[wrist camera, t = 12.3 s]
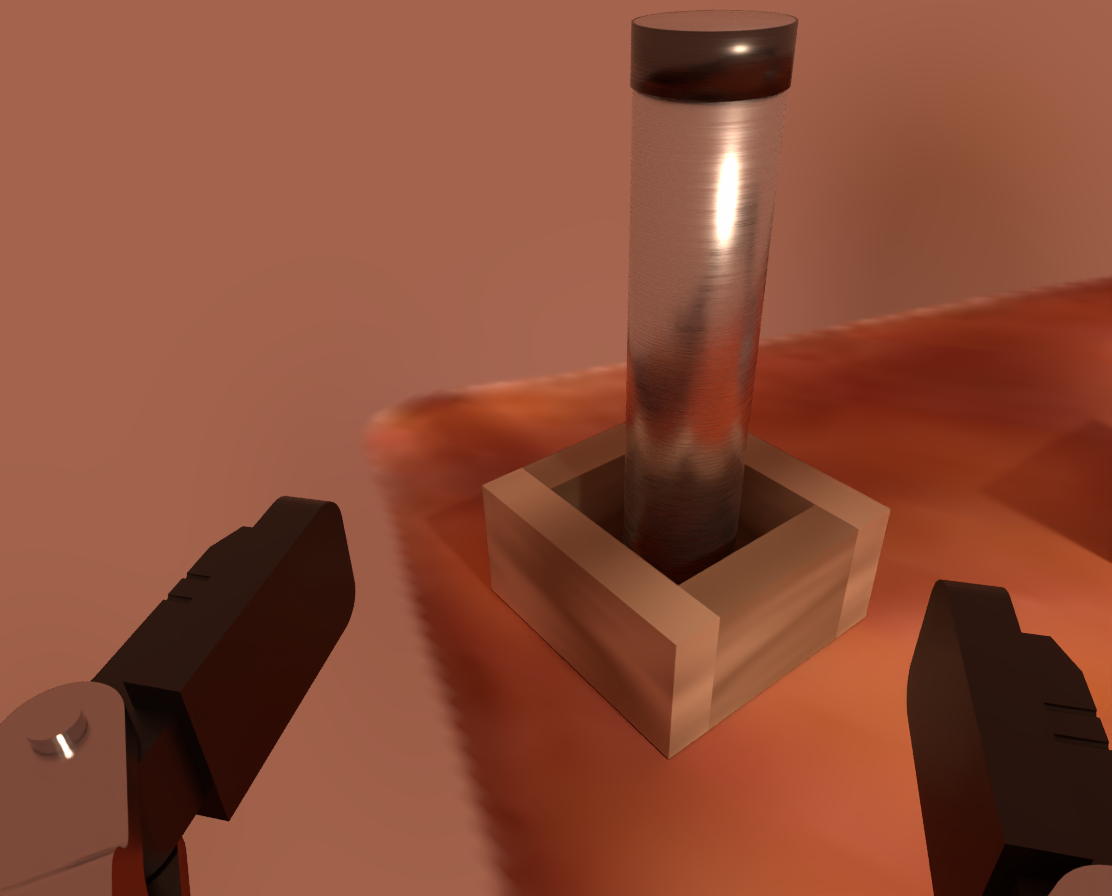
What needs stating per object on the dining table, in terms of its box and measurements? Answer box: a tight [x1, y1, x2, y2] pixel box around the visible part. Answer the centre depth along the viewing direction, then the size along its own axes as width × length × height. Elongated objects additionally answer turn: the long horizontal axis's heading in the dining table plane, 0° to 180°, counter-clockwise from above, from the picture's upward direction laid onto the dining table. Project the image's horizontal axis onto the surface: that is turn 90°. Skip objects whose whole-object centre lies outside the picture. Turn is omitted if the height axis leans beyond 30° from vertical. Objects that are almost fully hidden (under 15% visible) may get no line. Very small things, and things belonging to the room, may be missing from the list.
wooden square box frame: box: [482, 422, 891, 759], centre depth 25 cm, size 8×8×4 cm
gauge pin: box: [623, 10, 798, 585], centre depth 22 cm, size 3×3×16 cm
